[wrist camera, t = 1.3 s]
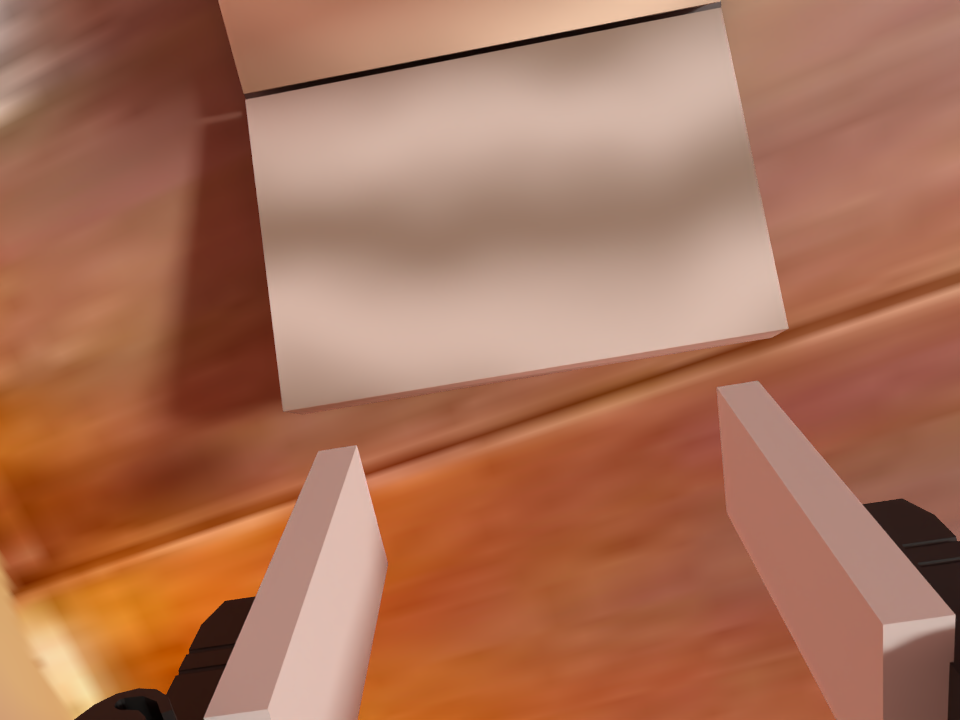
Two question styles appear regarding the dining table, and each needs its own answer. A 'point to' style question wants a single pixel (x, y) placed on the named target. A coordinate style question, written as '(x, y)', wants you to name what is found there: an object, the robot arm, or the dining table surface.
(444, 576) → the dining table surface
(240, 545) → the dining table surface
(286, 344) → the plank
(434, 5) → the floor board
